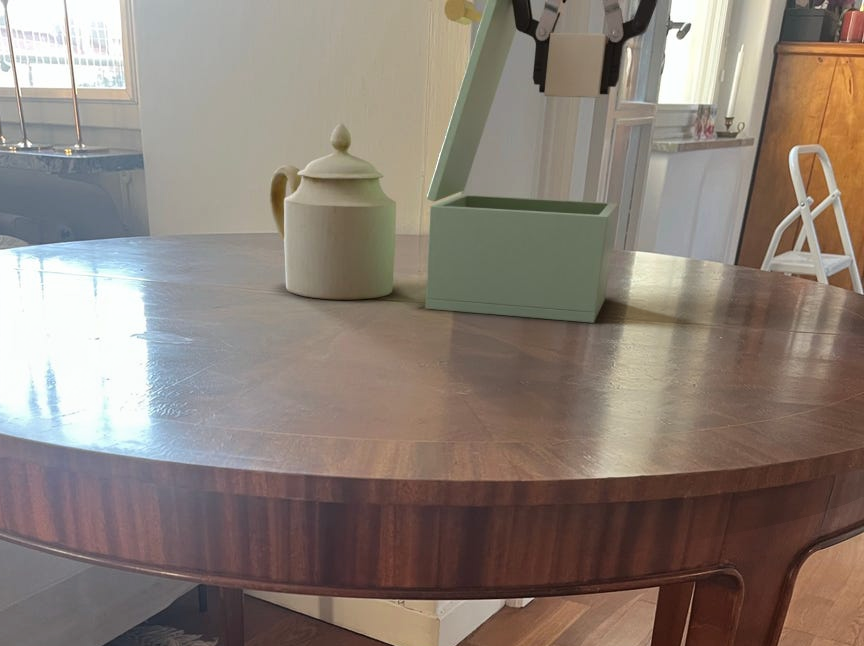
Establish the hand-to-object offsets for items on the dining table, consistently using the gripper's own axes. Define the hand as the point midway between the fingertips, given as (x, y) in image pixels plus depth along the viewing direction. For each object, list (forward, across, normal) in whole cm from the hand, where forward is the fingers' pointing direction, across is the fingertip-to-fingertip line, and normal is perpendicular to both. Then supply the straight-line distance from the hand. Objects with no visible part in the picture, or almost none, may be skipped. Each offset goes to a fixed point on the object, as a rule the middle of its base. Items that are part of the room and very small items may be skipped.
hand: (573, 92), depth 83 cm
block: (0, 0, 0) cm, 0 cm away
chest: (+18, +3, 0) cm, 18 cm away
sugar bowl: (+18, +23, 0) cm, 30 cm away
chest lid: (+1, +8, -1) cm, 8 cm away
